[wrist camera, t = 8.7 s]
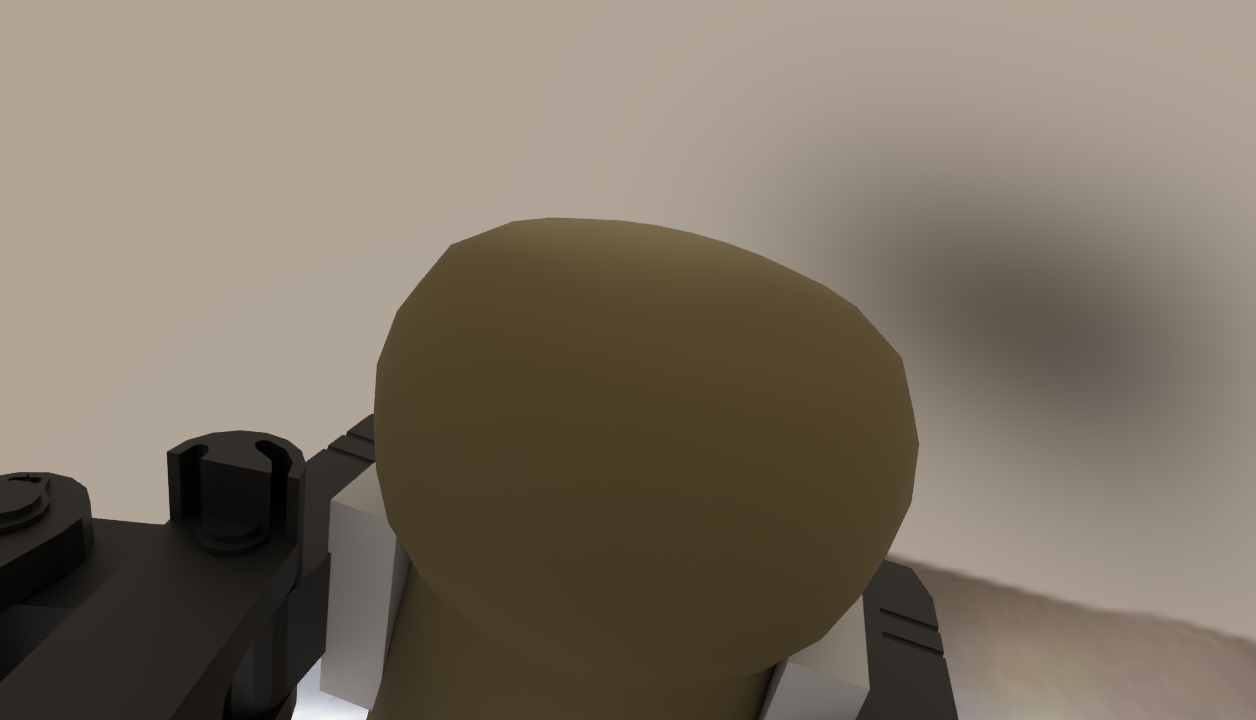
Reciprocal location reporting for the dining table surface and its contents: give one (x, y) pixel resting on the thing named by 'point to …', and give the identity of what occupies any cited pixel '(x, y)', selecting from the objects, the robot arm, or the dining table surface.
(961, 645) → the dining table surface
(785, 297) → the cork
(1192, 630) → the dining table surface
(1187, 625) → the dining table surface
